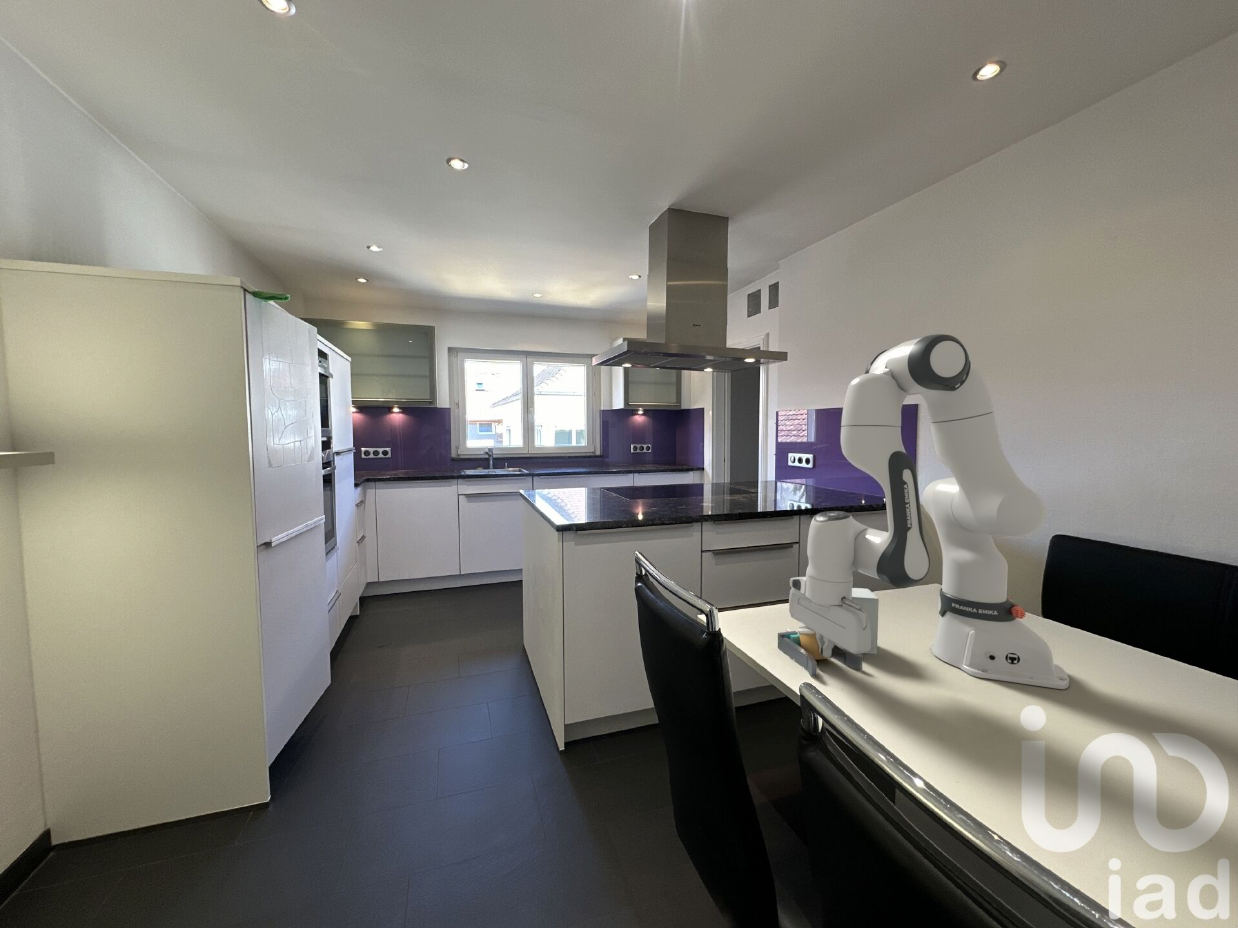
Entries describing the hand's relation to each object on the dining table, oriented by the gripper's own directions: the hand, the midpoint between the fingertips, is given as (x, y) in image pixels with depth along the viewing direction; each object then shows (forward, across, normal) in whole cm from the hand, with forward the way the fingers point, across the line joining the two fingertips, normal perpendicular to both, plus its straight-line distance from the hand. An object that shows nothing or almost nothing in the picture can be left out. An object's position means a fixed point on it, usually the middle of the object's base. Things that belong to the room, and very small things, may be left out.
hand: (824, 655), depth 97 cm
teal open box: (+2, +11, -1) cm, 11 cm away
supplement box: (+2, +6, -14) cm, 15 cm away
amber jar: (+2, +3, -1) cm, 4 cm away
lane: (+2, +4, -1) cm, 4 cm away
